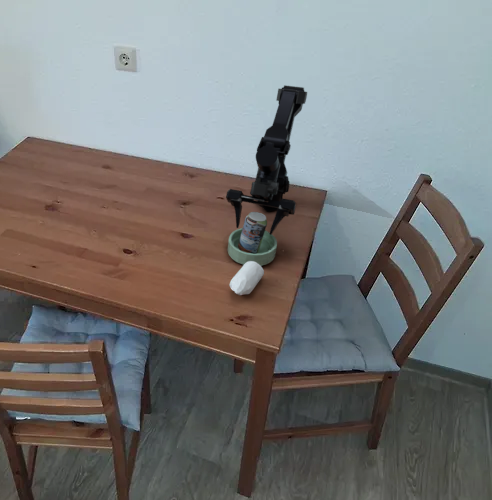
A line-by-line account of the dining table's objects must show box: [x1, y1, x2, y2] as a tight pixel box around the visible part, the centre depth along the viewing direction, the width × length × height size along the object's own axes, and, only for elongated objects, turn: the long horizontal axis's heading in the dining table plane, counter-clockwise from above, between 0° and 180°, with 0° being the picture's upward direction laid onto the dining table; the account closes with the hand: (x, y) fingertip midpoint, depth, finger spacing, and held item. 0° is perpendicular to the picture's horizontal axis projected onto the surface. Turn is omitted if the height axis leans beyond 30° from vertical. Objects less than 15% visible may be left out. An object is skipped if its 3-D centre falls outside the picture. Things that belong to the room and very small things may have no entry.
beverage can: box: [238, 211, 268, 254], centre depth 151 cm, size 6×7×12 cm
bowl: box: [227, 227, 278, 267], centre depth 154 cm, size 13×13×4 cm
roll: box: [229, 261, 265, 296], centre depth 141 cm, size 6×12×6 cm, turn 147°
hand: (253, 231), depth 149 cm, fingers open, 9 cm apart
